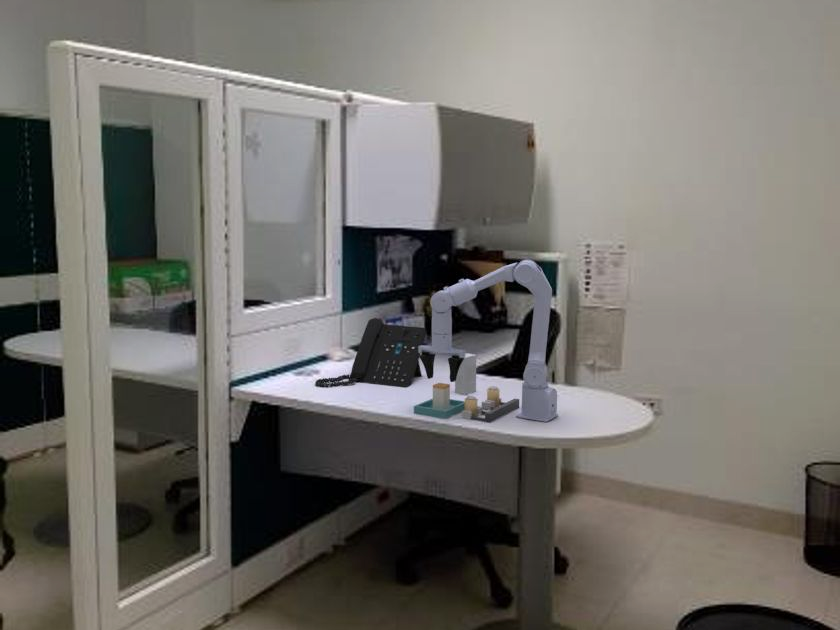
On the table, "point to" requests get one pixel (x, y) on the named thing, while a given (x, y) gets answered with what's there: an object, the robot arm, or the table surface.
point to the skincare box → (466, 375)
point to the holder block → (492, 410)
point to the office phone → (384, 356)
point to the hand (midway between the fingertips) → (441, 379)
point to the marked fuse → (441, 396)
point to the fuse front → (471, 405)
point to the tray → (428, 410)
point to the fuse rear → (493, 395)
